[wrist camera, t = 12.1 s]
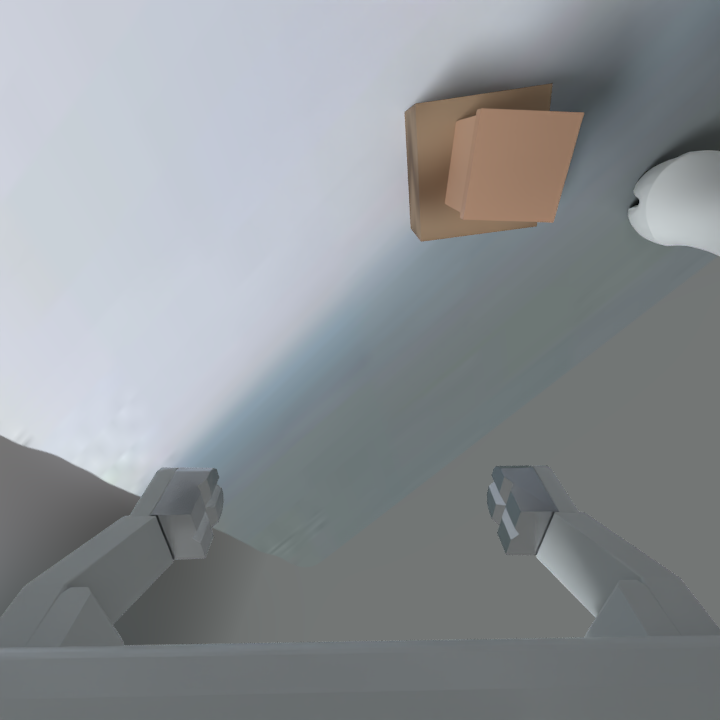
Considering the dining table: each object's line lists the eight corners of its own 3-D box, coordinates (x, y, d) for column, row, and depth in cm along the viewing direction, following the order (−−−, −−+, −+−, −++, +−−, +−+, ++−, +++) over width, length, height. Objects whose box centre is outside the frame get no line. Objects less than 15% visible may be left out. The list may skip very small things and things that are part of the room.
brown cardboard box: (453, 117, 25) (481, 108, 19) (534, 120, 25) (584, 112, 19) (441, 206, 27) (463, 219, 22) (514, 208, 28) (553, 222, 22)
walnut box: (404, 112, 29) (415, 103, 24) (516, 95, 29) (552, 83, 24) (410, 227, 34) (421, 241, 29) (507, 214, 33) (536, 226, 28)
